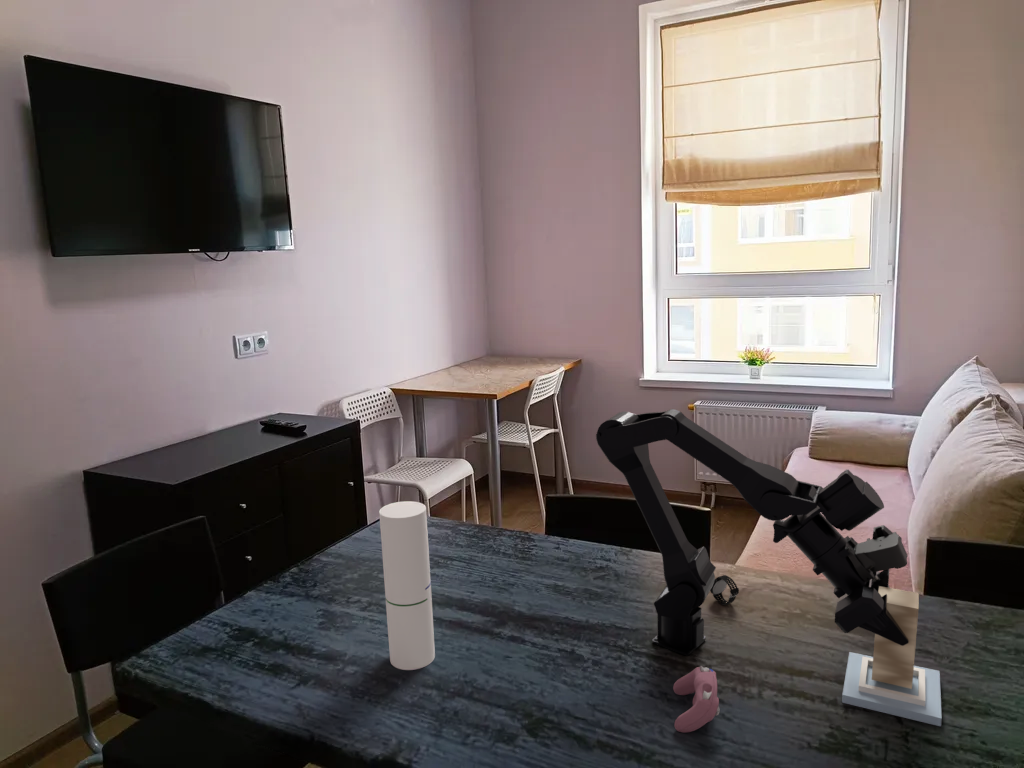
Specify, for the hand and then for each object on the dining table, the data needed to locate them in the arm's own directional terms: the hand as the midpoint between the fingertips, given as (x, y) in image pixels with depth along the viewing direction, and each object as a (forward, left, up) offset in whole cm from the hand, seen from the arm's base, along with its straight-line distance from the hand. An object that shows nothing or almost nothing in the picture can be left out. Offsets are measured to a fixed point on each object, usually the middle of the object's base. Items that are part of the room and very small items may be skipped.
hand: (906, 634), depth 103 cm
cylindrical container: (-62, -37, -9) cm, 73 cm away
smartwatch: (-31, +9, -9) cm, 34 cm away
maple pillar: (-1, 0, -7) cm, 7 cm away
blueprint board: (-1, 0, -9) cm, 9 cm away
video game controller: (-21, -22, -9) cm, 32 cm away
